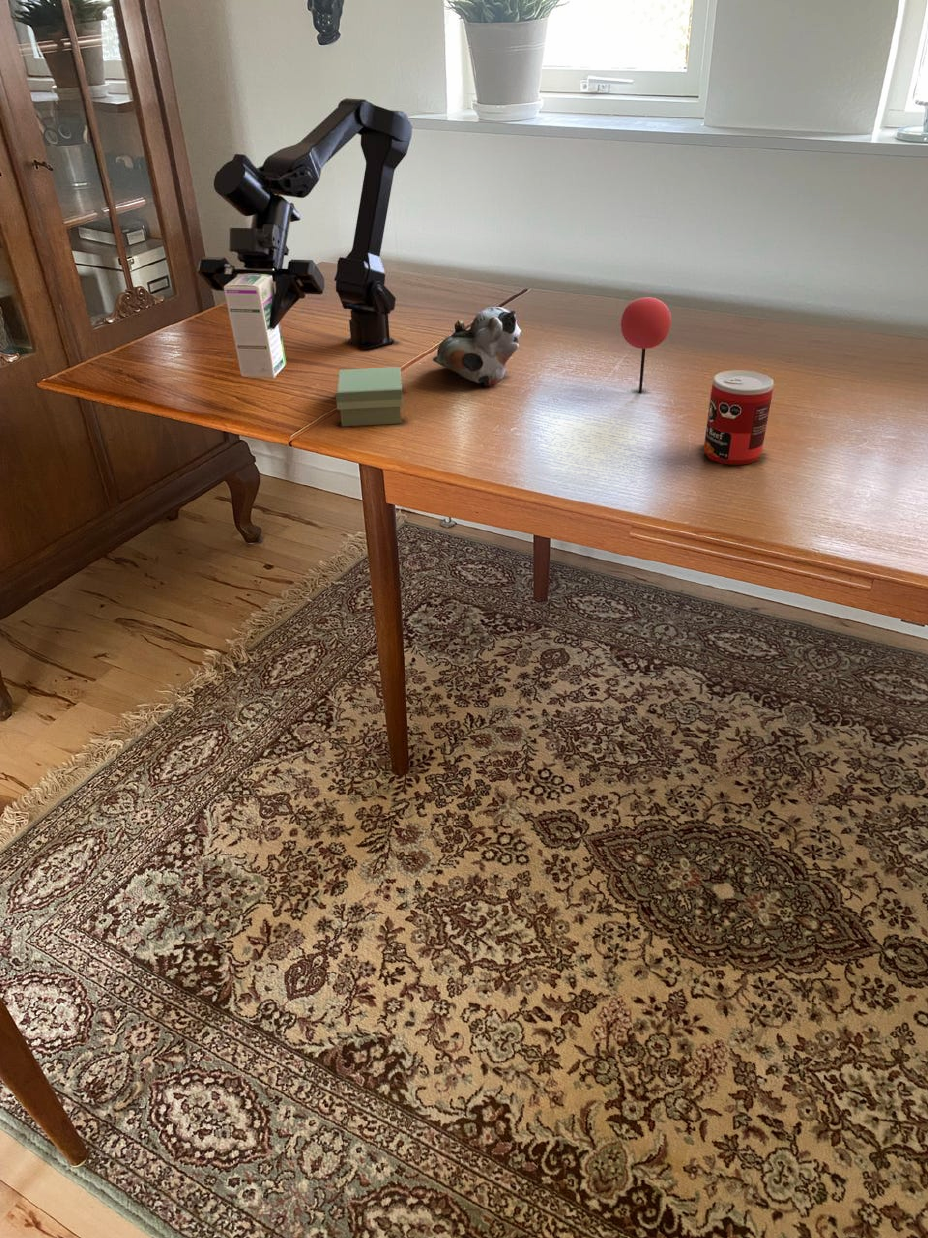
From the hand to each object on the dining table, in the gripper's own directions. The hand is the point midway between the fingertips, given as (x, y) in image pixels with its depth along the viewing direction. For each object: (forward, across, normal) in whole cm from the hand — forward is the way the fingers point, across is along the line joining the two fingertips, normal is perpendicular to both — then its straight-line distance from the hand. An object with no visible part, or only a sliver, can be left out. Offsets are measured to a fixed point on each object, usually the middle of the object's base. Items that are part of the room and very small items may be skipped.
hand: (252, 326), depth 142 cm
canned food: (+14, +73, +5) cm, 74 cm away
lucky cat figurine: (-4, +31, +23) cm, 39 cm away
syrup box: (+4, 0, +6) cm, 8 cm away
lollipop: (-2, +59, +21) cm, 62 cm away
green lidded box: (+8, +17, +11) cm, 22 cm away
